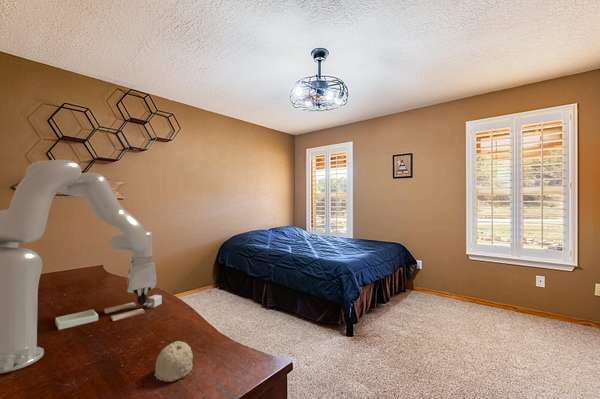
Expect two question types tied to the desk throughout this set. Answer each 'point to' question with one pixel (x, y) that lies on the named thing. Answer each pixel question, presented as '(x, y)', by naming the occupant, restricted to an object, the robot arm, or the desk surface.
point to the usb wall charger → (154, 301)
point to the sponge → (174, 361)
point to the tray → (76, 319)
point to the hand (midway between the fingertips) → (141, 303)
